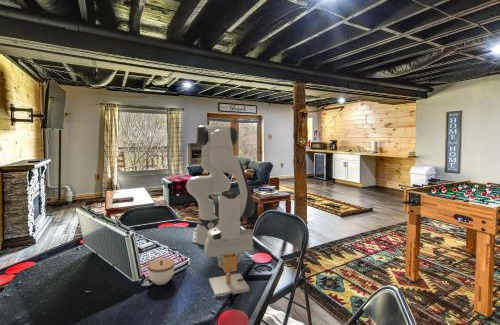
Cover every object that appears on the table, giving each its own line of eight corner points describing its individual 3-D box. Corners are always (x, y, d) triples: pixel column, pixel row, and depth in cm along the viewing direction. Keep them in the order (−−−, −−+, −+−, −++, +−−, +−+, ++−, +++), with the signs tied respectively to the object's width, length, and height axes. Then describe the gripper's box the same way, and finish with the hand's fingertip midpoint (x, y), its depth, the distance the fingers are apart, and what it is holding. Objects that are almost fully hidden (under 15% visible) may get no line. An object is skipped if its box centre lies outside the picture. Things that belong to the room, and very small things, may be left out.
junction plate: (208, 281, 114) (208, 269, 113) (239, 276, 119) (240, 264, 118) (215, 297, 103) (215, 284, 102) (249, 291, 108) (249, 278, 107)
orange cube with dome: (221, 266, 111) (221, 251, 111) (233, 265, 113) (233, 249, 112) (224, 272, 107) (224, 256, 106) (236, 270, 108) (236, 254, 108)
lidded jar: (149, 290, 107) (149, 268, 106) (146, 277, 116) (146, 257, 115) (176, 284, 111) (176, 262, 111) (171, 272, 121) (171, 252, 120)
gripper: (250, 226, 115) (249, 257, 116) (203, 231, 108) (203, 263, 109) (256, 231, 109) (255, 263, 110) (206, 236, 102) (206, 271, 103)
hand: (229, 263), depth 110 cm, fingers closed on orange cube with dome, 5 cm apart
